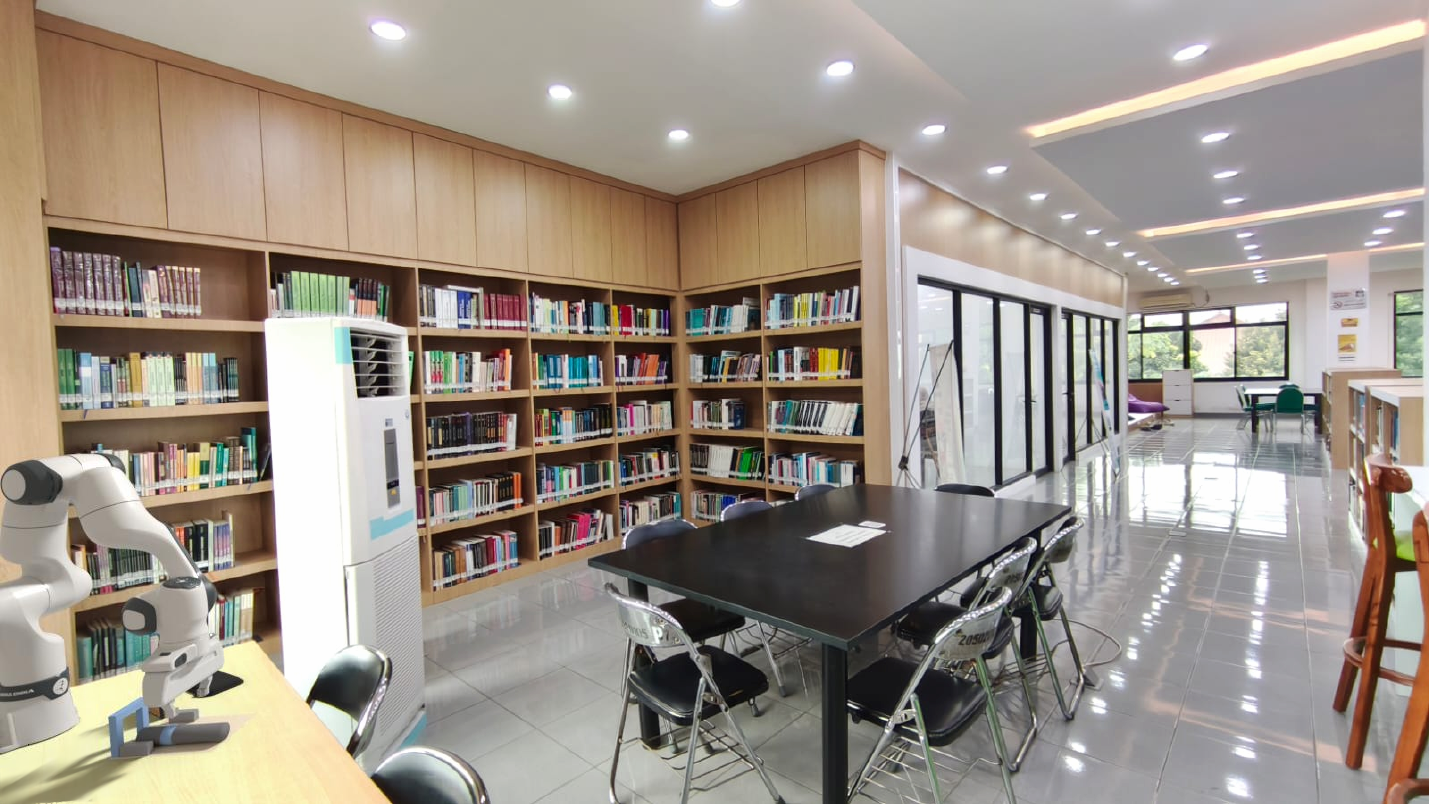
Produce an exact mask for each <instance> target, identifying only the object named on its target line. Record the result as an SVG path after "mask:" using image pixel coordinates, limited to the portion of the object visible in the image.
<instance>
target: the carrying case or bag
mask: <svg viewBox="0 0 1429 804" xmlns="http://www.w3.org/2000/svg"><path fill="white" fill-rule="evenodd" d="M244 682H245V681H244V679H243V678H242V677H240V676H236V675H235V674H231V673H228V672H225V671H222V670H220V669H219V670H218V671H216V672H215V673H213V674H212V680H211V683H210V686H209V693H208V694H207V695H205V696H204V697H198V696H197V690H198V689H199V687H200V682H199V683H198V684H196V685H195V686H193V687H192V688H190V689H189V690H187V691H186V692H188V693H191V694H193V698H196V699H197V698H198V699H199V698H200V699H203V698H204V699H205V698H211V697H214V696H216V695H219V694H222V693H224V692H226V691H229V690H232V689H234V688H236V687H238V686H241V685H242V684H243V685H244Z"/></svg>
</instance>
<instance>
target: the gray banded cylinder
mask: <svg viewBox="0 0 1429 804" xmlns="http://www.w3.org/2000/svg"><path fill="white" fill-rule="evenodd" d="M229 731H230V725H229V723H228V722H221V723H205V724H189V725H170V726H157V727H144V728H142V729H141V730H140V731H139V732H138V734H137V733H136V736H135V739H134V740H135V741H134V742H142V741H153V746H157V745H175V744H188V743H203V742H218V741H224V740H225V739H226V738H227V736H228V734H229Z"/></svg>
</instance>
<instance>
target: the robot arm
mask: <svg viewBox="0 0 1429 804" xmlns="http://www.w3.org/2000/svg"><path fill="white" fill-rule="evenodd" d="M0 490H1V492H2V494H3V496H4V498H6V500H5V502H4V506H3V510H2V517H1V524H0V525H1V526H0V556H1V557H2V559H4V560H5V561H7V562H9V563H12V564H14V565H20V568H21V575H20V577H19V578H18V577H17V578H16V579H12V580H8V581H4V582H1V583H0V753H1V754H5V753H7V752H11V751H12V750H13V751H14V750H15V749H18V748H21V747H25V746H28V744H29V745H32V744H35V743H39V742H42V741H45V740H47V739H50V738H52V737H55V736H58V735H59V734H63V733H64V732H66V731H68V730H69V729H71V728H73V727H75V726H76V725H77V724H78V722H80V720H81V717H80V715H79V714H78V709H77V707H75V703H74V699H73V695H72V691H71V688H70V681H71V675H70V674H71V671H70V667H69V666H68V665H67V657H66V656H67V655H66V644H65V640H64V638H63V637H62V636H61V635H59V634H56V633H54V632H48V631H43V630H42V628H41V626H40V619H43V618H44V617H48V616H50V615H53V614H57V613H59V612H62V611H66V610H67V609H70V608H71V607H73V606H75V605H77V604H79V603H80V602H82V601H84V600H86V599H87V598H88V597H89V596H90V594H91V592H92V589H93V579H92V577H91V575H90V574H89V572H88V571H86V570H85V569H84V568H82V567H80V566H78V565H76V564H74V563H73V561H72V560H71V558H70V556H69V554H68V548H67V537H68V524H69V523H68V520H69V505H70V503H72V505H73V506H74V508H75V511H76V514H77V517H78V519H79V520H78V521H80V524H81V526H82V529H83V532H84V533H85V534H86V536H87V538H88V539H89V540H90V541H91V542H92V543H94V544H96V545H98V546H101V547H104V548H110V549H117V550H118V549H119V550H134V551H140V552H145V553H148V554H151V555H153V556H154V557H155V558H156V559H157V560H158V562H159V563H160V564H161V566H162V567H163V568H164V570H165V571H166V573H167V574H168V577H169V578H168V579H166V580H164V581H163V582H161V583H160V585H158V586H157V587H155V588H153V589H151V590H148V591H145V592H142V593H139V594H137V595H135V596H132V597H130V598H129V599H127V601H126V602H125V604H124V605H123V607H122V609H121V614H120V620H121V621H120V623H121V625H122V627H123V629H124V630H125V631H126V632H128V633H129V634H132V635H135V636H149V635H153V634H158V635H159V645H158V646H157V647H156V649H155V650H154V651H153V652H152V653H151V654H150V655H149V656H148V657H147V658H146V659H145V660H144V661H143V662H142V663H141V665H140V669H141V672H142V673H144V676H143V678H142V684H141V686H142V687H141V689H142V690H141V692H142V697H143V703H144V705H145V706H146V707H148V708H155V707H161V708H162V709H163V710H164V711H165V715H166V718H165V719H166V720H167V719H171V718H174V717H175V716H177V715H178V714H179V712H178V711H179V710H180V709H179V707H175V705H174V704H175V703H176V699H177V698H178V697H180V696H181V695H183V694H184V693H186V692H188V691H187V690H189V689H190V688H192V687H193V686H195V685H196V684H198V683H199V682H200V687H199V689H198V690H197V696H198V697H204V696H205V695H207V694H208V693H209V686H210V683H211V680H212V674H213V673H215V672H216V671H218V670H219V671H220V670H222V669H223V667H224V664H225V653H224V647H223V644H222V642H221V641H220V637H219V635H218V633H215V632H211V633H210V629H209V626H208V625H209V624H208V623H207V619H208V615H209V613H211V611H212V609H213V608H214V606H215V604H216V602H217V599H218V591H217V588H216V586H215V585H214V584H213V582H212V581H211V580H210V579H209V578H207V576H206V575H205V574H204V573H203V572H202V571H201V570H200V568H199V566H198V565H197V564H196V562H195V560H194V559H193V557H192V556H191V555H190V553H189V551H188V550H187V549H186V546H184V544H183V542H182V541H181V540H180V538H179V537H178V536H177V534H176V532H174V530H173V529H172V528H171V527H170V525H168V524H167V523H165V522H161V521H159V520H157V519H156V518H155V517H154V516H152V514H151V513H150V512H149V511H148V509H146V507H145V506H144V504H143V502H142V500H141V497H140V495H139V494H138V492H137V490H136V489H135V486H134V485H133V484H132V482H131V480H130V479H129V477H127V469H126V466H125V464H124V462H123V461H122V459H121V458H120V457H119V456H117V455H115V454H111V453H103V452H92V453H75V454H73V453H72V454H62V455H59V456H51V457H44V458H40V459H27V460H23V461H20V462H19V461H18V462H16V463H14V464H11V465H10V466H7V468H6V469H5V470H4V472H3V474H2V475H1V478H0ZM145 672H147V673H146V674H145ZM204 698H205V697H204Z"/></svg>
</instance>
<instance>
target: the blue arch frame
mask: <svg viewBox="0 0 1429 804" xmlns="http://www.w3.org/2000/svg"><path fill="white" fill-rule="evenodd" d="M131 714H135V724H136V735H137V734H138V732H139V731H140V730H141V729H142V728H144V727H149V726H150V716H149V714H150V713H149V712H148V707H146V706H145V705H144V703H143V696H140V697H138V698H137V699H135V700H133V701H132V702H130V703H128V704H127V705H125V706H124V707H122V708H120V709H119V710H116V712H114V713H112V714H110V715H109V716H108V717H107V719H108V730H109V731H108V732H109V744H110V758H119V757H120V753H119V746H121V745H122V744H124V743H125V736H124V734H125V733H124V723H123V719H125V718H126V717H128V716H131Z"/></svg>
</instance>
